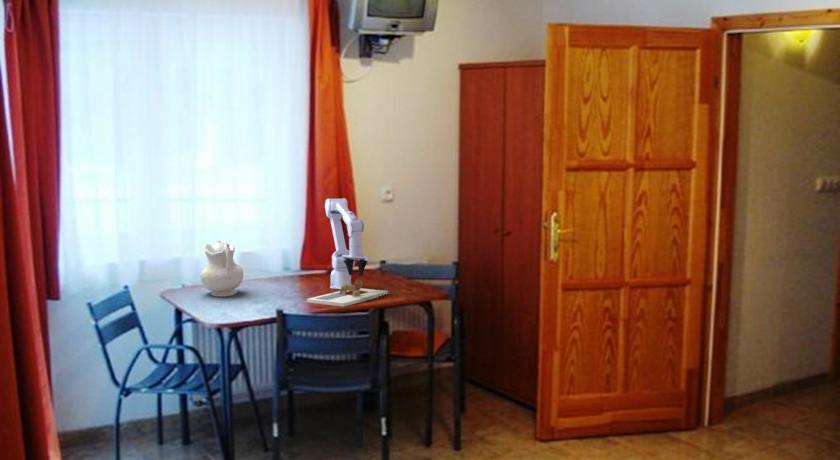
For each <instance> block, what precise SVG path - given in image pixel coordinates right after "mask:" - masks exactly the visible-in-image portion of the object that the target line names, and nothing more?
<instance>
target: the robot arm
mask: <svg viewBox="0 0 840 460" xmlns="http://www.w3.org/2000/svg"><path fill="white" fill-rule="evenodd" d="M348 203H349V202H348V200H347V199H346V198H345V197H343V198H327V199H325V203H324V209H325V214H326V217H327V218H328V219H329V220H330V225H331V226H330V227H331V230H332V231H331V232H332V236H333V241H334V246H335V251H334V252H333V254H332V255H331V266H332V268H333V270H331V273H330V287H329V288H330V289H332V290H333V289H335V290H341V287H342V286H343V285H345V284H346V285H352V275H353V273H354V267H355V265H356V264H355V263H357V266H358V267H357V268H358V276H359V277H362V276H363V275H364V271H365V268H366V266H367V264H368V263H369V262H368V261H371V258H370V257H371V256H370V255H363V248H362V247H363V245H362V243H363V240H362V239H363V236H362V235H363V233H364V228H365V224H364V221H363V219H358V217H357V216H356V214H355V213H354V212H353V211H350V210H349V208H348V207H349V206H348ZM341 220H343V221H344V223H345V224H346V228H347V229H346V230H347V236H348V237H349V239H348V241H349V243H348V245H349V249H347V246H346V241H345V235H344V231H343V230H344V229H343V226H342V225H343V224H342V221H341Z"/></svg>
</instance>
